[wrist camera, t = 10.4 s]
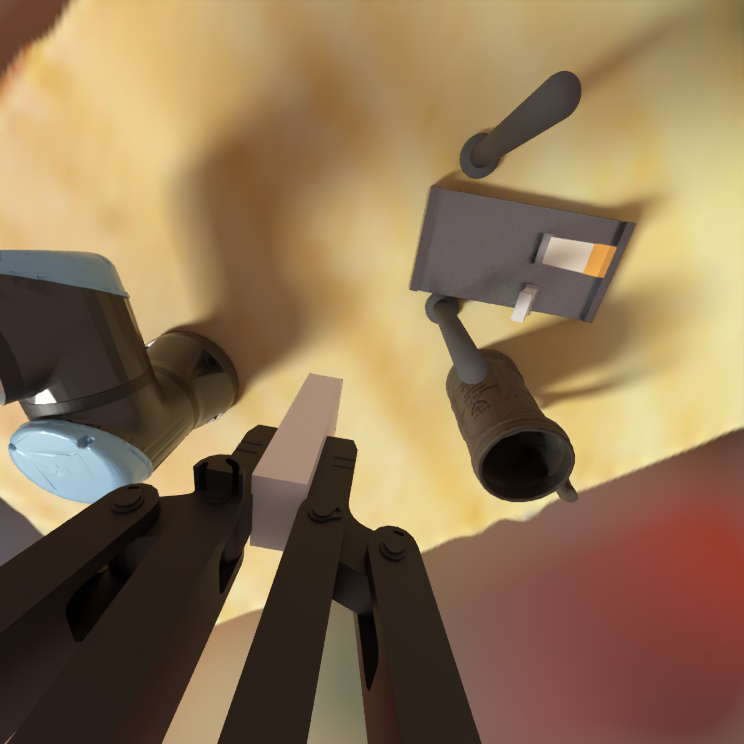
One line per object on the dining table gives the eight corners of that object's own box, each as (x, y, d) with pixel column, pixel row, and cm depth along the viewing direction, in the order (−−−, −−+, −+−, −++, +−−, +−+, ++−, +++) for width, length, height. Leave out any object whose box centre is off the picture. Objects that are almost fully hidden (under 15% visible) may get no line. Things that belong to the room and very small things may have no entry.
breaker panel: (408, 286, 47) (409, 290, 44) (429, 187, 42) (431, 185, 39) (581, 317, 47) (591, 322, 44) (621, 223, 42) (636, 223, 40)
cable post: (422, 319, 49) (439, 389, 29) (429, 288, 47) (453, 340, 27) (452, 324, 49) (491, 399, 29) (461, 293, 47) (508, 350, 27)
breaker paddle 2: (530, 263, 42) (595, 279, 36) (541, 232, 41) (610, 242, 34) (538, 264, 43) (603, 280, 37) (549, 234, 41) (619, 244, 35)
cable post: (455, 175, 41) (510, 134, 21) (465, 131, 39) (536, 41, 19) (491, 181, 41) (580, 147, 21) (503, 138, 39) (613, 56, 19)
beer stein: (427, 390, 53) (454, 486, 35) (469, 333, 49) (524, 409, 31) (505, 431, 56) (566, 538, 38) (551, 381, 52) (643, 474, 34)
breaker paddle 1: (517, 310, 45) (508, 321, 39) (527, 283, 44) (519, 289, 37) (530, 313, 45) (523, 325, 38) (540, 286, 43) (534, 293, 36)
